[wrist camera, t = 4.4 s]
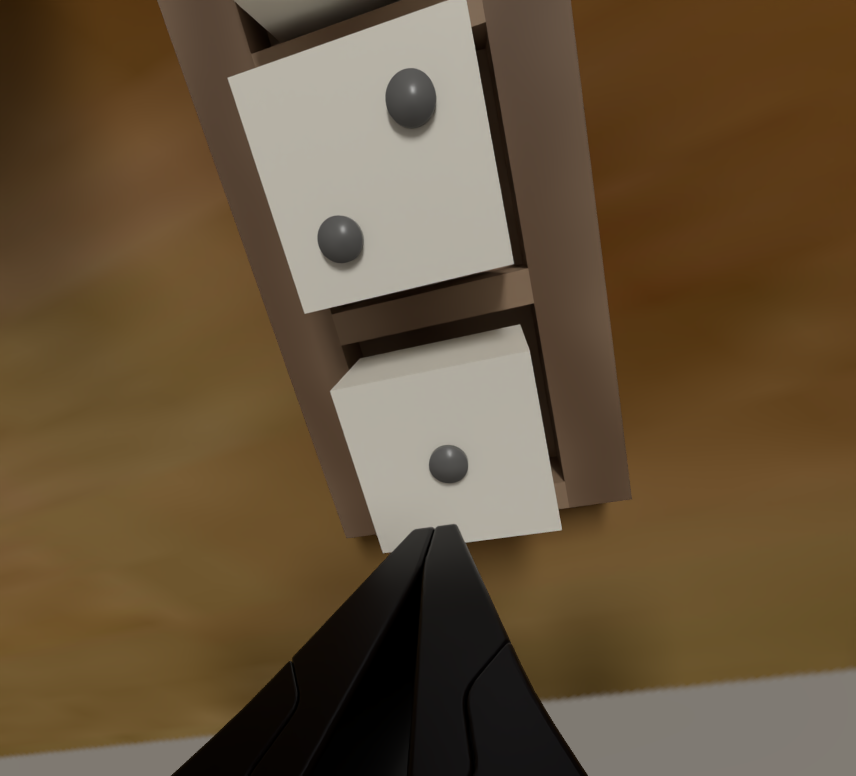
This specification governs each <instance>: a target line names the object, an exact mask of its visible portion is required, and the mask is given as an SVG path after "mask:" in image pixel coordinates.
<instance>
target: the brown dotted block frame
mask: <svg viewBox="0 0 856 776" xmlns="http://www.w3.org/2000/svg"><path fill="white" fill-rule="evenodd" d="M157 1H158V4H159V7H160V9H161V12H162V15H163V18H164V21H165V24H166V27H167V29H168V32H169V35H170V38H171V41H172V44H173V46H174V49H175V52H176V55H177V58H178V61H179V63H180V66H181V69H182V72H183V75H184V78H185V81H186V83H187V86H188V89H189V92H190V95H191V98H192V100H193V103H194V106H195V109H196V112H197V115H198V117H199V120H200V123H201V126H202V129H203V132H204V134H205V137H206V140H207V143H208V146H209V149H210V152H211V154H212V157H213V160H214V163H215V166H216V169H217V171H218V174H219V177H220V180H221V183H222V186H223V188H224V191H225V194H226V197H227V200H228V203H229V205H230V208H231V211H232V214H233V217H234V220H235V223H236V225H237V228H238V231H239V234H240V237H241V240H242V242H243V245H244V248H245V251H246V254H247V257H248V259H249V262H250V265H251V268H252V271H253V274H254V277H255V279H256V282H257V285H258V288H259V291H260V294H261V296H262V299H263V302H264V305H265V308H266V311H267V313H268V316H269V319H270V322H271V325H272V328H273V330H274V333H275V336H276V339H277V342H278V345H279V348H280V350H281V353H282V356H283V359H284V362H285V365H286V367H287V370H288V373H289V376H290V379H291V382H292V384H293V387H294V390H295V393H296V396H297V399H298V401H299V404H300V407H301V410H302V413H303V416H304V419H305V421H306V424H307V427H308V430H309V433H310V436H311V438H312V441H313V444H314V447H315V450H316V453H317V455H318V458H319V461H320V464H321V467H322V470H323V473H324V475H325V478H326V481H327V484H328V487H329V490H330V492H331V495H332V498H333V501H334V504H335V507H336V509H337V512H338V515H339V518H340V521H341V524H342V526H343V529H344V532H345V535H346V538H353V537H360V536H367V535H375V534H377V533H376V530H375V527H374V524H373V521H372V518H371V515H370V512H369V509H368V506H367V503H366V500H365V497H364V494H363V491H362V488H361V485H360V481H359V478H358V475H357V472H356V469H355V466H354V463H353V460H352V457H351V454H350V451H349V448H348V445H347V442H346V439H345V436H344V433H343V430H342V426H341V423H340V420H339V417H338V414H337V411H336V408H335V405H334V402H333V399H332V396H331V393H330V390H331V389H332V388H333V387H334V386H335V385H336V384H337V383H338V382H339V381H340V380H341V379H342V377H343V376H344V375H345V374H346V373H347V372H348V371H349V370H350V369H351V368H352V367H353V365H354V364H355V363H356V362H357V361H358V360H359V359H360V358H364V357H369V356H374V355H378V354H383V353H388V352H392V351H397V350H402V349H406V348H411V347H416V346H421V345H425V344H430V343H435V342H439V341H444V340H449V339H453V338H458V337H463V336H467V335H472V334H477V333H482V332H486V331H491V330H496V329H500V328H505V327H510V326H514V325H519V324H520V325H521V328H522V331H523V333H524V336H525V339H526V342H527V345H528V347H529V350H530V355H531V361H532V366H533V372H534V377H535V383H536V388H537V394H538V399H539V405H540V410H541V416H542V422H543V427H544V433H545V438H546V444H547V449H548V455H549V460H550V466H551V471H552V477H553V482H554V488H555V494H556V499H557V505H558V509H564V508H571V507H578V506H586V505H593V504H600V503H607V502H615V501H622V500H629V499H632V497H631V489H630V481H629V472H628V464H627V456H626V448H625V440H624V432H623V424H622V415H621V407H620V399H619V391H618V383H617V375H616V367H615V358H614V350H613V342H612V334H611V326H610V318H609V310H608V301H607V293H606V285H605V277H604V269H603V261H602V253H601V244H600V236H599V228H598V220H597V212H596V204H595V196H594V187H593V179H592V171H591V163H590V155H589V147H588V139H587V130H586V122H585V114H584V106H583V98H582V90H581V82H580V73H579V65H578V57H577V49H576V41H575V33H574V25H573V16H572V8H571V0H466V1H467V6H468V12H469V17H470V23H471V28H472V34H473V39H474V45H475V50H476V56H477V61H478V67H479V73H480V78H481V84H482V89H483V95H484V100H485V106H486V111H487V117H488V122H489V128H490V134H491V139H492V145H493V150H494V156H495V161H496V167H497V172H498V178H499V183H500V189H501V194H502V200H503V206H504V211H505V217H506V222H507V228H508V233H509V239H510V244H511V250H512V255H513V261H514V264H512V265H508V266H504V267H500V268H495V269H491V270H487V271H483V272H479V273H474V274H470V275H466V276H462V277H458V278H453V279H449V280H445V281H441V282H436V283H432V284H428V285H424V286H420V287H415V288H411V289H407V290H403V291H399V292H394V293H390V294H386V295H382V296H378V297H373V298H369V299H365V300H361V301H357V302H352V303H348V304H344V305H340V306H336V307H331V308H327V309H323V310H319V311H315V312H310V313H306V314H305V313H304V310H303V307H302V304H301V301H300V298H299V295H298V292H297V289H296V286H295V283H294V280H293V277H292V274H291V271H290V268H289V264H288V261H287V258H286V255H285V252H284V249H283V246H282V243H281V240H280V237H279V234H278V231H277V228H276V225H275V222H274V219H273V216H272V213H271V209H270V206H269V203H268V200H267V197H266V194H265V191H264V188H263V185H262V182H261V179H260V176H259V173H258V170H257V167H256V164H255V161H254V157H253V154H252V151H251V148H250V145H249V142H248V139H247V136H246V133H245V130H244V127H243V124H242V121H241V118H240V115H239V112H238V109H237V106H236V102H235V99H234V96H233V93H232V90H231V87H230V84H229V81H228V77H231V76H234V75H237V74H240V73H243V72H245V71H248V70H251V69H254V68H257V67H260V66H262V65H265V64H268V63H271V62H274V61H277V60H279V59H282V58H285V57H288V56H291V55H294V54H296V53H299V52H302V51H305V50H308V49H311V48H313V47H316V46H319V45H322V44H325V43H328V42H330V41H333V40H336V39H339V38H342V37H345V36H348V35H350V34H353V33H356V32H359V31H362V30H365V29H367V28H370V27H373V26H376V25H379V24H382V23H384V22H387V21H390V20H393V19H396V18H399V17H401V16H404V15H407V14H410V13H413V12H416V11H418V10H421V9H424V8H427V7H430V6H433V5H435V4H438V3H441V2H444V1H447V0H400V1H398V2H395V3H392V4H389V5H387V6H384V7H381V8H378V9H375V10H373V11H370V12H367V13H364V14H361V15H359V16H356V17H353V18H350V19H348V20H345V21H342V22H339V23H336V24H334V25H331V26H328V27H325V28H323V29H320V30H317V31H314V32H311V33H309V34H306V35H303V36H300V37H297V38H295V39H292V40H289V41H286V42H284V43H281V42H280V41H278V40H277V39H276V38H275V37H274V36H273V35H272V34H271V33H269V32H268V31H267V30H266V29H265V28H264V27H263V26H262V25H260V24H259V23H258V22H257V21H256V20H255V19H254V18H253V17H252V16H250V15H249V14H248V13H247V12H246V11H245V10H244V9H243V8H241V7H240V6H239V5H238V4H237V3H236V2H235V1H234V0H157Z"/></svg>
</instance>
